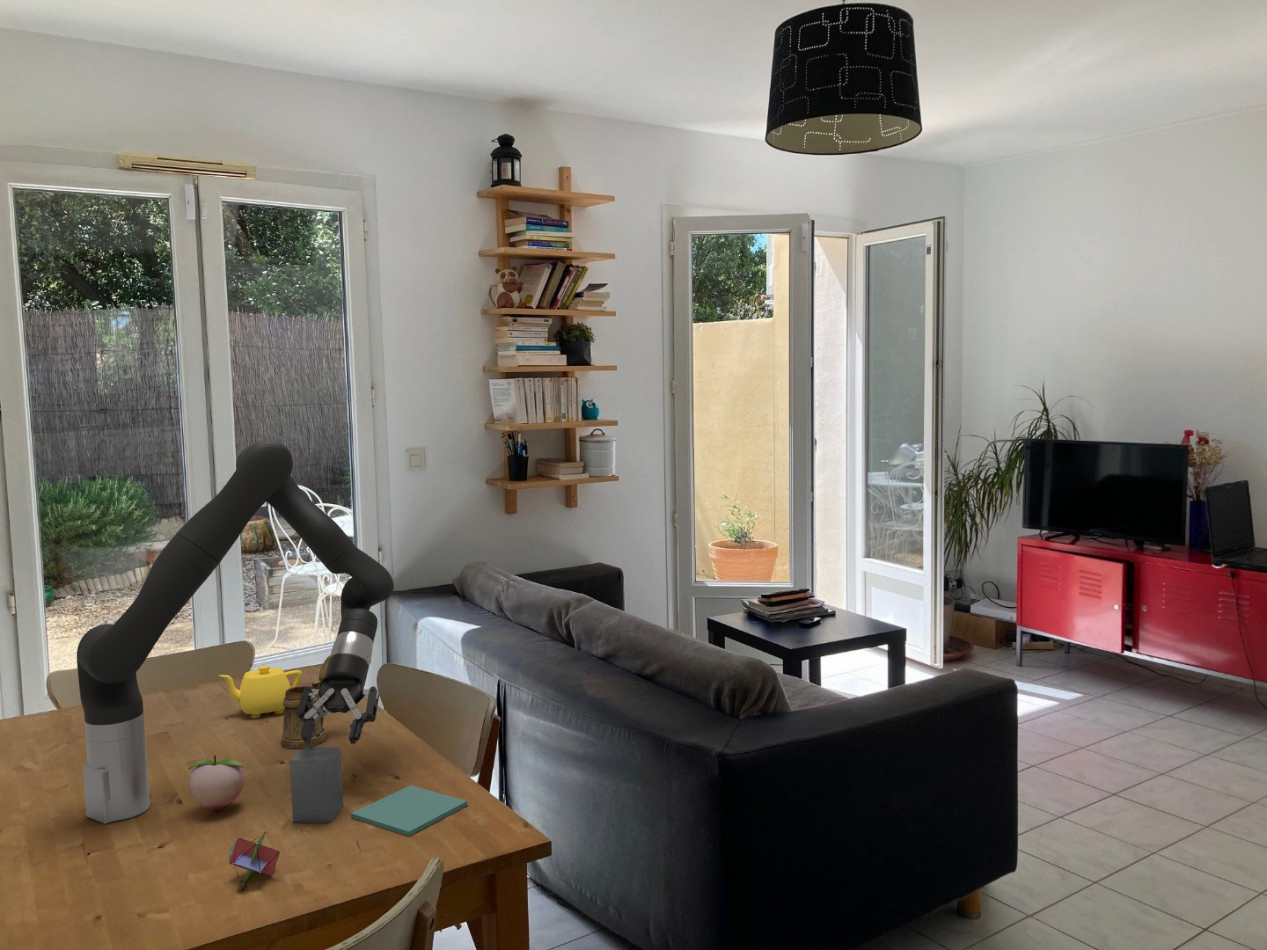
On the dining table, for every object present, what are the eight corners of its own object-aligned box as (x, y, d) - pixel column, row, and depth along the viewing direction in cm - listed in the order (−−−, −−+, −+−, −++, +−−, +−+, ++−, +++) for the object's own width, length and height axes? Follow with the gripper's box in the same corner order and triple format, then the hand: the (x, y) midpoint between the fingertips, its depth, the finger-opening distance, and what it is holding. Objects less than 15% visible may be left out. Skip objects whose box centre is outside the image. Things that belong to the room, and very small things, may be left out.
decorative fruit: (185, 824, 171) (181, 767, 170) (193, 805, 179) (189, 750, 178) (243, 816, 173) (240, 760, 172) (248, 798, 181) (245, 744, 180)
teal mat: (409, 836, 164) (408, 831, 164) (351, 817, 172) (350, 813, 172) (467, 805, 176) (467, 801, 176) (410, 789, 183) (410, 785, 183)
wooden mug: (352, 736, 212) (348, 654, 211) (289, 752, 204) (284, 666, 202) (336, 726, 219) (332, 646, 218) (274, 740, 211) (270, 657, 209)
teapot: (223, 725, 221) (220, 678, 220) (219, 711, 231) (217, 666, 230) (307, 712, 229) (305, 667, 228) (300, 699, 239) (298, 655, 238)
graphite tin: (329, 822, 170) (326, 760, 169) (293, 822, 170) (289, 760, 169) (343, 807, 176) (340, 746, 175) (308, 806, 177) (305, 746, 176)
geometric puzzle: (297, 852, 155) (263, 813, 154) (283, 873, 148) (247, 833, 147) (261, 880, 155) (227, 842, 154) (245, 903, 148) (210, 863, 147)
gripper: (306, 651, 186) (283, 732, 176) (380, 651, 185) (361, 732, 175) (319, 671, 192) (297, 750, 182) (391, 671, 191) (373, 751, 181)
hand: (329, 741), depth 178 cm, fingers open, 8 cm apart
